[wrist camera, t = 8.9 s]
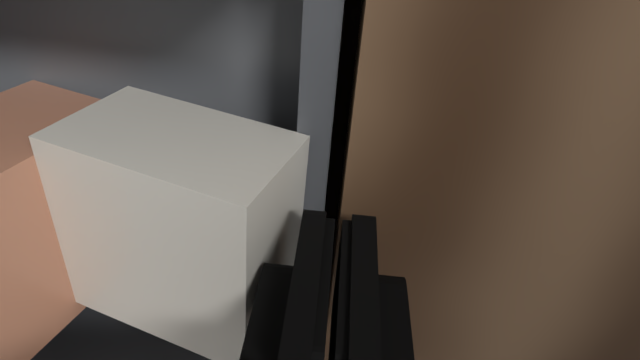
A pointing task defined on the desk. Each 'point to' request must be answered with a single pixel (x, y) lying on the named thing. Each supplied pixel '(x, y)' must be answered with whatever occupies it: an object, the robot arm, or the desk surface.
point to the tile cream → (172, 212)
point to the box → (181, 91)
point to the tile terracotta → (31, 225)
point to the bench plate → (501, 173)
